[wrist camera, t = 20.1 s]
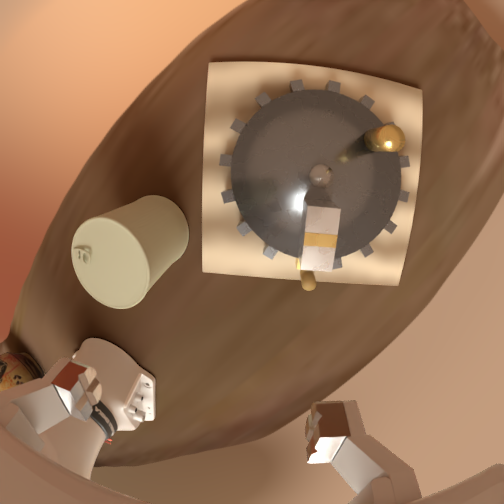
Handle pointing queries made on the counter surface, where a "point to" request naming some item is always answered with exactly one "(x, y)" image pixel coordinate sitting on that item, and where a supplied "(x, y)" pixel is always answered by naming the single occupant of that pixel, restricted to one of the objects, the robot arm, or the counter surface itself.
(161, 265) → the can
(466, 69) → the counter surface
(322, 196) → the sprocket
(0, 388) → the ceramic jug
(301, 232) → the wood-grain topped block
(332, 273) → the plate
